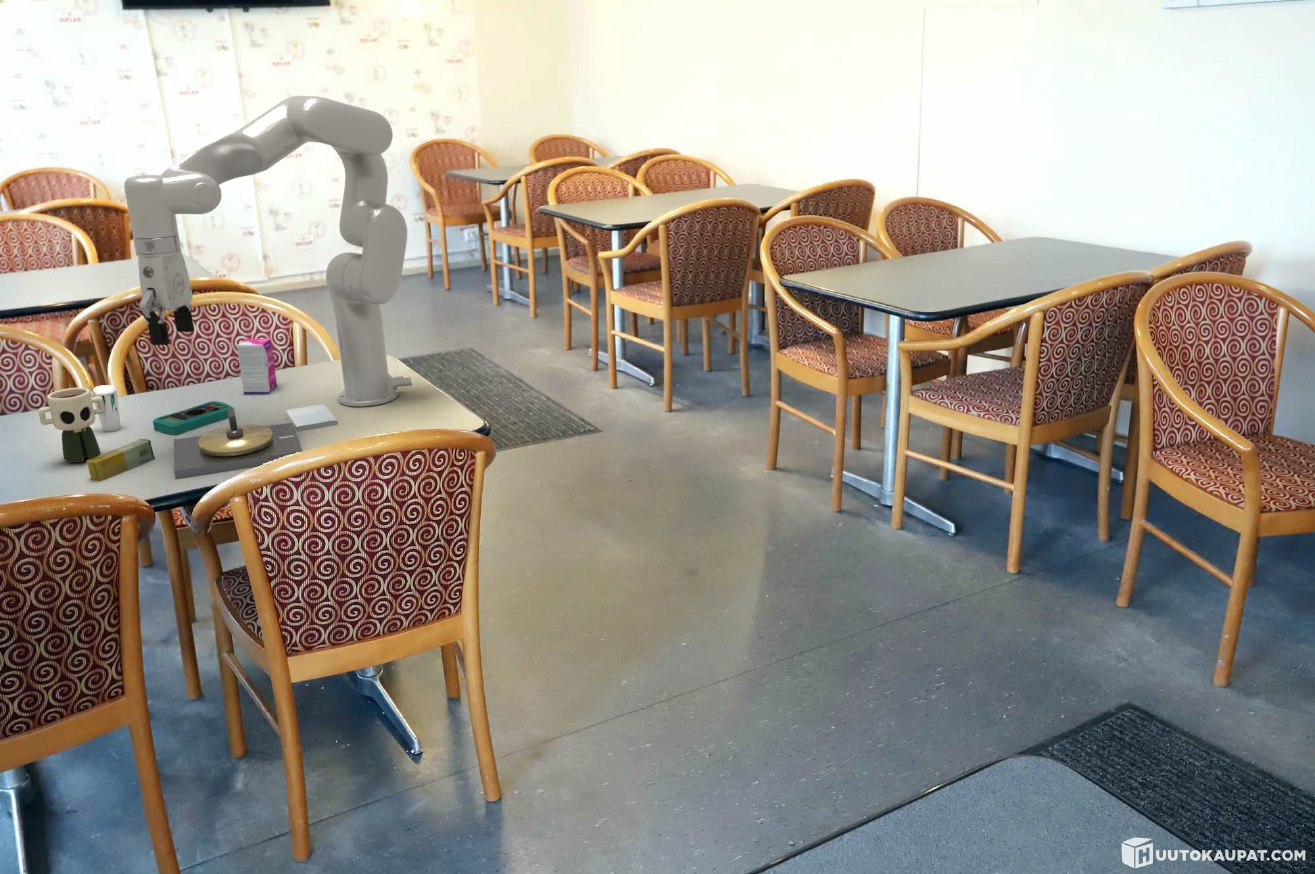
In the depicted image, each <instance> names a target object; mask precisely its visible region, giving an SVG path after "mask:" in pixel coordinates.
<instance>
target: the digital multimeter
mask: <svg viewBox="0 0 1315 874" xmlns="http://www.w3.org/2000/svg"><path fill="white" fill-rule="evenodd" d="M227 409H234V410H235V408H234V406H232V405H230V404H228V403H224V402H221V401H216V400H211V401H208V402H204V403H202V404H200V405H196V406H192V407H189V408H186V409H184V410H180V411H176V412H173V413H170V414H166V415H162V416H159V417H156V418H154V419H153V420H152V423H153V429H154V430H155V431H157V432H160V433H163V434H168V435H172V436H178V435H180V434H184V433H187V432H191V431H193V430H195V429H198V428H201V427H204V426H207V425H211V424H214V423H218V422H220V421H222V420H227V419H229V416H228V410H227Z"/></svg>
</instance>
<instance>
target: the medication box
mask: <svg viewBox="0 0 1315 874" xmlns="http://www.w3.org/2000/svg"><path fill="white" fill-rule="evenodd" d="M155 459H156V457H155V455H154V451H153V447H152V441H151V440H150V439H146V438H140V439H137V440H136V441H135V440H134V441H132V442H130V443H128V444H125V445H122V446H120V447H118V448H115V449H113V450H110V451H108V452H105V453H103V454H100V455H99V456H97V457H95V458H92V459H89V458H88V460H87V459H86V464H87V469H88V473H89V475H90V476H89V477H90V480H91V481H97V482H102V481H105V480H107V479H109V478H113V477H114V476H118V475H120V474H122V473H125V472H126V471H131V469H132V470H133V469H134V468H137V467H140V466H142V465H145V464H146V463H149V462H151V461H154V460H155Z"/></svg>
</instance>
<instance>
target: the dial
mask: <svg viewBox="0 0 1315 874" xmlns="http://www.w3.org/2000/svg"><path fill="white" fill-rule="evenodd" d="M227 410H228V416H229V418H228V420H229V421H228V422H229V426H226V427H221V428H219V429H217V428H216V429H215V430H213V431H209V432H207V433H205V434H203V436H202V435H201V436H202V437H201V438H200V439H199V441H198V443H199V448H200V451H201V452H202V453H204V454H206V455H211V456H234V455H241V454H246V453H250V452H254V451H257V450H260V449H262V448H264V447H266V446H268V445H269V444H271V442H272V441H273V437H272V431H271V429H269V428H268V427H265V426H263V425H259V424H258V425H257V424H240V425H237V424H238V422H237V417H236V412H235V408H234V409H227Z"/></svg>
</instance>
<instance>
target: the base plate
mask: <svg viewBox="0 0 1315 874" xmlns="http://www.w3.org/2000/svg"><path fill="white" fill-rule="evenodd" d="M265 427H268V428H269V429H271V431H272V437H273V441H272V442H271V444H269V445H268V446H266V447H264V448H262V449H260V450H257V451H254V452H250V453H246V454H241V455H234V456H211V455H206V454H204V453H202V452H201V451H200V448H199V443H198V441H199V439H200V438H201V437H202V436H203V435H204V434H203V435H196V436H195V435H194V436H189V437H183V438H175V439H173V472H174V478H175V480H176V479H177V480H178V479H183V478H189V477H197V476H202V475H208V474H215V473H220V472H227V471H228V472H229V471H233V470H241V469H246V468H253V467H259V466H258V465H260V466H263V465H262V464H263V463H267V462H269V461H273V460H274V459H278V458H279V457H283V456H285V455H289V454H294V453H296V452H301V451H303V449H302V445H301V443H300V440H299V437H298V433H297V431H296V429H295V428H294V425H293V423H291V422H286V423H279V424H273V425H266V426H265Z"/></svg>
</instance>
